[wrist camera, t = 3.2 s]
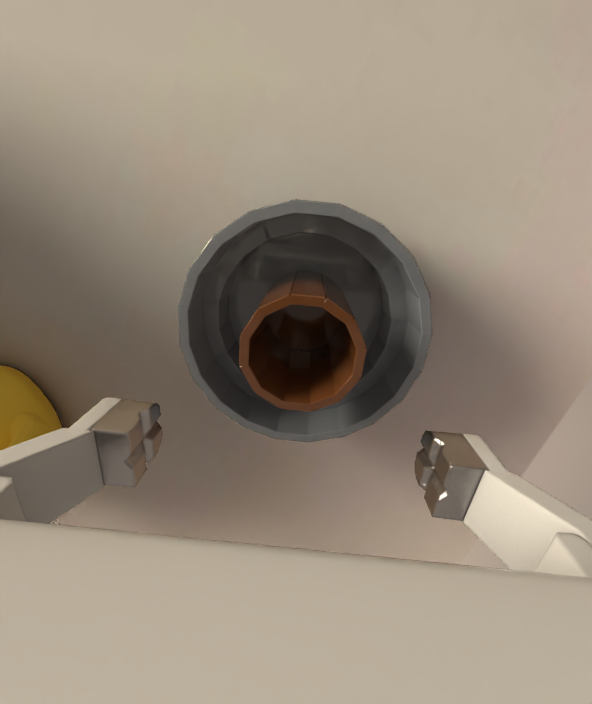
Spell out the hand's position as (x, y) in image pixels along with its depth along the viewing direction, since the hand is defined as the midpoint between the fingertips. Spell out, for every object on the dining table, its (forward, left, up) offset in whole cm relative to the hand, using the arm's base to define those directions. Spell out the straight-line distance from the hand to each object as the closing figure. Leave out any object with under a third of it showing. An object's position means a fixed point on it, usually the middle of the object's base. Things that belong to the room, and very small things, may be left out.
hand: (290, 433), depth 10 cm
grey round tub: (0, 0, -15) cm, 15 cm away
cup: (0, 0, -14) cm, 14 cm away
